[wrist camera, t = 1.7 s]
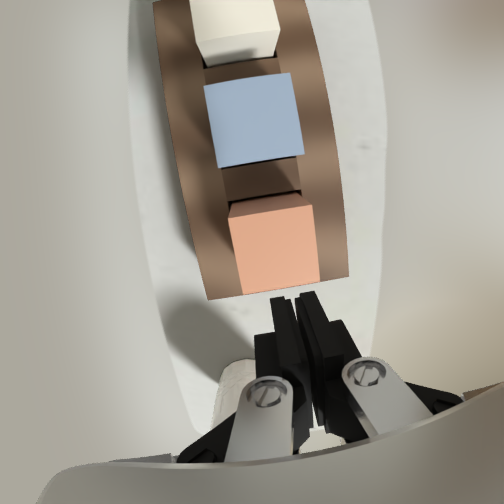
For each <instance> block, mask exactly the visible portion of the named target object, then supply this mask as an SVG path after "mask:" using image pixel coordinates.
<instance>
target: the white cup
mask: <svg viewBox="0 0 504 504" xmlns="http://www.w3.org/2000/svg"><path fill="white" fill-rule="evenodd" d="M254 379H256V369H255V360H251V359H244V360H240V361H236V362H233V363H231V364H230V365H229V366H227V367H226V368H225V369H224V370H223V373H222V375H221V377H220V383H219V388H218V391H217V395H216V400H215V405H214V411H213V417H212V423H211V429H210V431H211V430H212V429H213V428H215V427H216V426H217V425H219V424H220V423H221V422H223V421H224V420H225V419H227V418H228V417H229V416H230V415H232V414H233V413H234V412H236V411H237V407H238V403H239V399H240V395H241V392H242V390H243V388H244V387H245V386H246V385H247V384H248V383H249V382H251V381H253V380H254Z"/></svg>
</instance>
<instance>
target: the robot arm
mask: <svg viewBox="0 0 504 504" xmlns="http://www.w3.org/2000/svg"><path fill="white" fill-rule="evenodd" d="M270 304H271V310H272V316H273V322H274V329H275V332H271V333H265V334H258V335H254V346H255V369H256V379H254V380H253V381H251V382H249V383H248V384H247V385H246V386H245V387H244V388H243V390H242V392H241V395H240V399H239V403H238V407H237V411H236V412H234V413H233V414H232V415H230V416H229V417H228V418H227V419H225V420H224V421H223V422H221V423H220V424H219V425H217V426H216V427H215V428H213V429H212V430H211V431H209V432H208V433H207V434H205V435H204V436H203V437H201V438H200V439H198V440H197V441H196V442H194V443H193V444H191V445H190V446H189V447H187V448H186V449H185V450H183V451H182V452H181V453H180V455H178V456H172V454H171V453H169V454H163V455H156V456H149V457H140V458H131V459H120V460H113V461H109V462H104V463H92V464H86V465H80V466H75V467H71V468H68V469H66V470H63V471H61V472H59V473H58V474H56V475H55V476H54V477H53V478H52V479H51V480H50V481H49V483H48V484H47V485H46V487H45V488H44V490H43V492H42V493H41V495H40V497H39V498H38V500H37V502H36V504H504V382H500V383H497V384H494V385H490V386H487V387H484V388H480V389H476V390H472V391H468V392H464V393H462V395H461V397H459V396H457V395H455V394H452V393H449V392H444V391H440V390H436V389H432V388H427V387H423V386H419V385H415V384H411V383H408V382H404V381H403V380H402V379H401V378H400V377H399V376H398V375H397V373H396V372H395V371H394V370H393V369H392V368H391V367H390V366H389V364H387V363H386V362H385V361H383V360H381V359H379V358H375V357H362V356H361V354H360V352H359V351H358V349H357V347H356V345H355V343H354V341H353V339H352V338H351V336H350V334H349V332H348V330H347V328H346V326H345V325H344V323H343V321H342V320H336V321H331V322H329V320H328V318H327V316H326V314H325V312H324V310H323V308H322V306H321V304H320V302H319V300H318V298H317V295H316V293H315V291H310V292H304V293H300V297H298V298H295V307H296V315H297V320H296V316H295V313H294V309H293V306H292V303H291V299H287V300H285V298H284V296H282V297H276V298H270ZM312 403H313V407H314V411H315V415H316V420H317V424H318V426H323V425H324V427H325V431H326V433H332V434H335V435H337V436H340V442H341V446H337V447H332V448H328V449H323V450H319V451H314V452H308V453H302V454H300V446H301V445H302V444H303V443H304V442H305V441H306V440H307V439H308V438H309V437H310V433H309V428H313V410H312Z"/></svg>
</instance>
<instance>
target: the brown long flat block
mask: <svg viewBox="0 0 504 504" xmlns="http://www.w3.org/2000/svg"><path fill="white" fill-rule="evenodd" d="M273 2H274V6H275V10H276V14H277V18H278V22H279V26H280V33H279V36H278V40H277V43H276V47H275V50H274V54H273V57H272V58H270V59H262V60H254V61H247V62H241V63H234V64H229V65H223V66H218V67H213V68H208V67H207V65H206V63H205V60H204V58H203V56H202V54H201V52H200V50H199V48H198V46H197V43H196V39H195V33H194V27H193V20H192V14H191V8H190V1H189V0H160V1H157V2H154V3H153V11H154V20H155V29H156V38H157V46H158V53H159V61H160V68H161V75H162V82H163V88H164V95H165V101H166V107H167V113H168V119H169V125H170V131H171V136H172V142H173V147H174V153H175V158H176V163H177V168H178V173H179V178H180V183H181V188H182V193H183V198H184V202H185V207H186V212H187V216H188V221H189V225H190V229H191V234H192V238H193V243H194V247H195V251H196V255H197V259H198V263H199V268H200V272H201V276H202V280H203V284H204V287H205V291H206V295H207V299H208V300H214V299H221V298H228V297H234V296H241V295H243V292H242V287H241V282H240V277H239V272H238V267H237V262H236V257H235V252H234V247H233V242H232V237H231V232H230V227H229V222H228V216H229V213H230V209H231V206H232V202H237V201H243V200H249V199H255V198H261V197H267V196H273V195H279V194H286V193H292V192H296V193H298V194H299V195H300V196H302V197H303V198H304V199H305V200H307V201H308V202H309V203H310V204H312V209H313V217H314V225H315V234H316V243H317V253H318V263H319V274H320V282H323V281H328V280H333V279H339V278H344V277H349V268H348V250H347V236H346V224H345V213H344V202H343V193H342V184H341V176H340V168H339V160H338V153H337V146H336V140H335V133H334V127H333V121H332V115H331V110H330V104H329V99H328V94H327V89H326V84H325V79H324V74H323V70H322V65H321V61H320V57H319V52H318V48H317V44H316V40H315V36H314V32H313V28H312V25H311V21H310V17H309V14H308V10H307V7H306V3H305V0H273ZM282 73H290V75H291V80H292V85H293V90H294V95H295V100H296V105H297V111H298V116H299V122H300V128H301V134H302V140H303V146H304V152H305V154H303V155H296V156H289V157H282V158H275V159H268V160H262V161H256V162H250V163H244V164H238V165H233V166H227V167H222V168H218V164H217V159H216V154H215V148H214V143H213V137H212V132H211V126H210V120H209V115H208V109H207V104H206V98H205V92H204V86H206V85H211V84H216V83H221V82H226V81H232V80H238V79H244V78H250V77H257V76H265V75H273V74H282ZM315 283H317V282H315ZM310 284H312V283H310ZM304 285H306V284H304ZM299 286H301V285H299ZM293 287H295V286H293ZM287 288H289V287H287ZM281 289H283V288H281ZM275 290H277V289H275ZM269 291H272V290H269ZM263 292H265V291H263ZM257 293H259V292H257ZM251 294H253V293H251ZM245 295H247V294H245Z"/></svg>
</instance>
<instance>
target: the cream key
mask: <svg viewBox="0 0 504 504" xmlns="http://www.w3.org/2000/svg"><path fill="white" fill-rule="evenodd" d="M189 1H190V8H191V14H192V20H193V27H194V33H195V39H196V43H197V46H198V48H199V50H200V52H201V54H202V56H203V58H204V60H205V63H206V65H207V67H208V68H213V67H218V66H223V65H229V64H234V63H241V62H247V61H254V60H262V59H270V58H272V57H273V54H274V50H275V47H276V43H277V40H278V36H279V33H280V26H279V22H278V18H277V14H276V10H275V6H274V2H273V0H189Z"/></svg>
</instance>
